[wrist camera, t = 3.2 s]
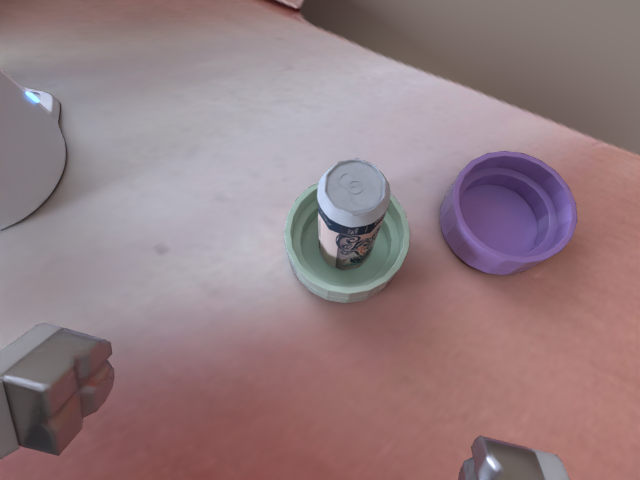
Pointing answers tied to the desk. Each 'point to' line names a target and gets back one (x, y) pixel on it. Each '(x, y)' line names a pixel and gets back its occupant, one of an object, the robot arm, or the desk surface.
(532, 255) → the lavender bowl
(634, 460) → the desk surface
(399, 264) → the celadon bowl
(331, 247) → the white cylindrical canister
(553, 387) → the desk surface
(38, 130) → the robot arm
